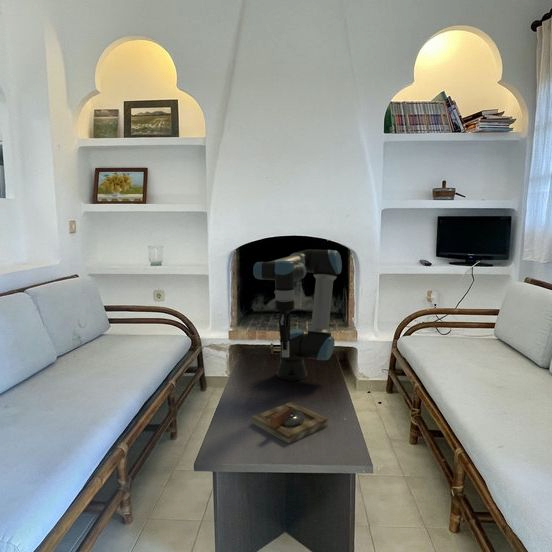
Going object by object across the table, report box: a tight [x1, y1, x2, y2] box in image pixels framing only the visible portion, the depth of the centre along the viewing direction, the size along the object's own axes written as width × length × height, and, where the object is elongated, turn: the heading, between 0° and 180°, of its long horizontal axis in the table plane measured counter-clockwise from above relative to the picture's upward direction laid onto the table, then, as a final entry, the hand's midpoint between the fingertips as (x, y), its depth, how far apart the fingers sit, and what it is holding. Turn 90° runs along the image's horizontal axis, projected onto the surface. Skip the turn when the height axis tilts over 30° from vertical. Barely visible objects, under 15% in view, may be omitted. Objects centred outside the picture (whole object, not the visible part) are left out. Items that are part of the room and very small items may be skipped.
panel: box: [252, 401, 329, 444], centre depth 157 cm, size 20×20×3 cm
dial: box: [271, 407, 305, 428], centre depth 154 cm, size 16×11×5 cm, turn 145°
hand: (285, 356), depth 168 cm, fingers closed
